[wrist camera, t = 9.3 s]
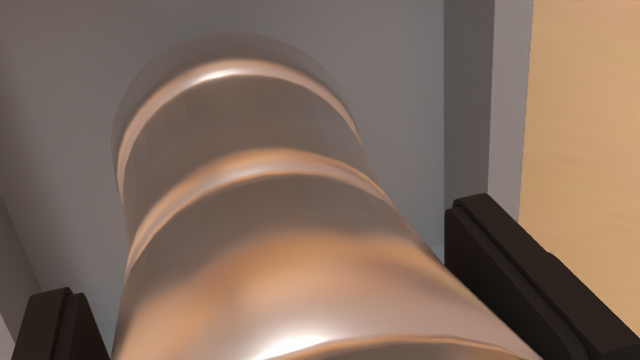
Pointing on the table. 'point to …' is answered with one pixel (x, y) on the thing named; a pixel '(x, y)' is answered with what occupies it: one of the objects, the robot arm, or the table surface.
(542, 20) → the table surface
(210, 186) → the plastic bottle
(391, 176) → the bin
